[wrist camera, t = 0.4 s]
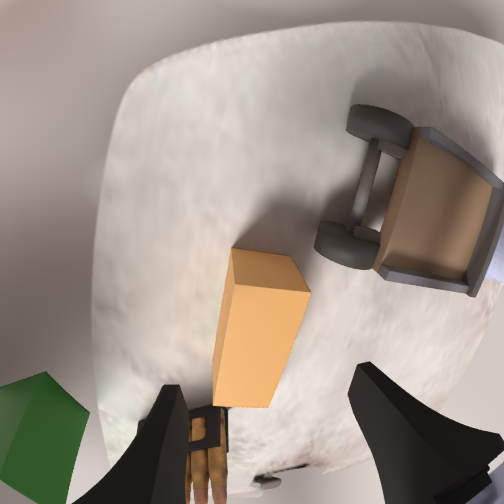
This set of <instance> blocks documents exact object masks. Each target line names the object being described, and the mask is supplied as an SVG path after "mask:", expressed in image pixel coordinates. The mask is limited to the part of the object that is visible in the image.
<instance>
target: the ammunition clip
mask: <svg viewBox="0 0 504 504" xmlns="http://www.w3.org/2000/svg"><path fill="white" fill-rule="evenodd" d="M144 422H145V420H142V421H139V422H138V428H137V433H138V432H139V430H140V429H141V427H142V425H143V423H144ZM228 452H229V445H228V410H227V409H225V408H224V407H223V406H213V404H211V405H207V406H204V407H200V408H196V409H193V410H189V444H188V454H187V465H186V477H185V493H186V504H190V492H191V484H192V480H193V490H194V500H195V504H207V503H208V482H209V478H210V480H211V488H212V496H213V501H214V504H226V500H227V490H226V488H227V475H228V469H227V453H228Z"/></svg>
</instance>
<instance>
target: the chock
mask: <svg viewBox="0 0 504 504" xmlns="http://www.w3.org/2000/svg"><path fill="white" fill-rule="evenodd" d="M310 295H311V291H310V289H309V288H308V286H307V284H306V282H305V281H304V279H303V277H302V275H301V274H300V272H299V270H298V269H297V267H296V265H295V264H294V262H293V260H292V258H291V257H290V256H285V255H278V254H271V253H264V252H257V251H250V250H243V249H236V248H231V252H230V257H229V263H228V269H227V275H226V281H225V286H224V292H223V298H222V304H221V311H220V317H219V323H218V329H217V335H216V342H215V348H214V355H213V406H225V407H247V408H268V407H269V405H270V403H271V400H272V398H273V395H274V393H275V391H276V388H277V386H278V383H279V381H280V378H281V376H282V373H283V371H284V368H285V365H286V363H287V360H288V358H289V355H290V352H291V350H292V347H293V344H294V341H295V339H296V336H297V333H298V330H299V328H300V325H301V322H302V319H303V316H304V313H305V310H306V307H307V304H308V301H309V298H310Z"/></svg>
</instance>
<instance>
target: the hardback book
mask: <svg viewBox="0 0 504 504" xmlns="http://www.w3.org/2000/svg"><path fill="white" fill-rule="evenodd" d="M89 414H90V412H89V411H87V410H86V409H85V408H84V407H83V406H82V405H80V404H79V403H78V402H77V401H76V400H75V399H74V398H73V397H72V396H71V395H70V394H68V393H67V392H66V391H65V390H64V389H63V388H62V387H61V386H60V385H59V384H58V383H57V382H56V381H55V380H54V379H53V378H52V377H51V376H50V375H49V374H48V373H47V372H46V371H45V372H42V373H40V374H37V375H34V376H31V377H28V378H26V379H23V380H20V381H17V382H14V383H11V384H8V385H5V386H2V387H0V504H66V500H67V495H68V490H69V486H70V481H71V477H72V473H73V469H74V465H75V461H76V457H77V454H78V450H79V447H80V443H81V440H82V436H83V433H84V430H85V427H86V424H87V420H88V417H89Z"/></svg>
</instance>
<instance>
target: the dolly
mask: <svg viewBox="0 0 504 504" xmlns="http://www.w3.org/2000/svg"><path fill="white" fill-rule="evenodd" d="M346 131H347V132H348V133H350V134H352V135H353V136H356V137H358V138H360V139H362V140H365V141H368V142H370V145H369V149H368V153H367V157H366V161H365V165H364V169H363V172H362V176H361V180H360V183H359V187H358V190H357V194H356V197H355V201H354V204H353V207H352V211H351V214H350V217H349V220H348V223H347V226H345V225H341V224H337V223H333V222H321V223H320V227H319V230H318V233H317V236H316V240H315V243H314V249H315V250H316V251H317V252H318V253H319V254H321V255H322V256H324V257H326V258H327V259H329V260H331V261H334V262H336V263H338V264H341V265H344V266H347V267H350V268H354V269H360V270H369V269H371V268H373V269H374V270H375V271H376V272H377V273H378V274H379V275H380V276H381V277H382V278H383V279H384V280H386V281H392V282H398V283H404V284H410V285H416V286H422V287H428V288H434V289H441V290H447V291H453V292H459V293H466V294H467V295H468V296H470V297H476V295H477V293H478V291H479V289H480V287H481V284H482V282H483V280H484V278H485V275H486V273H487V270H488V268H489V266H490V263H491V260H492V258H493V255H494V252H495V250H496V247H497V244H498V241H499V238H500V235H501V232H502V229H503V225H504V182H503V181H502V180H500V179H499V178H498V177H497V176H496V175H495V174H494V173H493V172H491V171H490V170H489V169H488V168H487V167H486V166H484V165H483V164H482V163H481V162H479V161H478V160H477V159H476V158H474V157H473V156H472V155H471V154H469V153H468V152H467V151H465V150H464V149H463V148H461V147H460V146H459V145H457V144H456V143H454V142H453V141H452V140H450V139H449V138H447V137H446V136H444V135H443V134H441V133H440V132H438V131H437V130H435V129H434V128H432V127H414V126H413V124H412V123H411V122H410V121H408V120H407V119H406V118H404V117H402V116H400V115H398V114H396V113H394V112H391V111H389V110H386V109H383V108H379V107H375V106H371V105H361V104H359V105H353V106H352V107H351V110H350V114H349V119H348V123H347V127H346ZM381 152H383V153H386V154H388V155H390V156H392V157H395V158H397V159H401V162H400V166H399V170H398V174H397V178H396V181H395V185H394V189H393V192H392V195H391V199H390V202H389V205H388V209H387V212H386V215H385V218H384V221H383V224H382V227H381V230H380V232H378V231H377V230H375V229H371V228H367V227H364V226H360V225H361V222H362V219H363V216H364V213H365V209H366V206H367V203H368V199H369V196H370V193H371V189H372V186H373V182H374V178H375V175H376V171H377V167H378V163H379V160H380V156H381Z"/></svg>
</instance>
